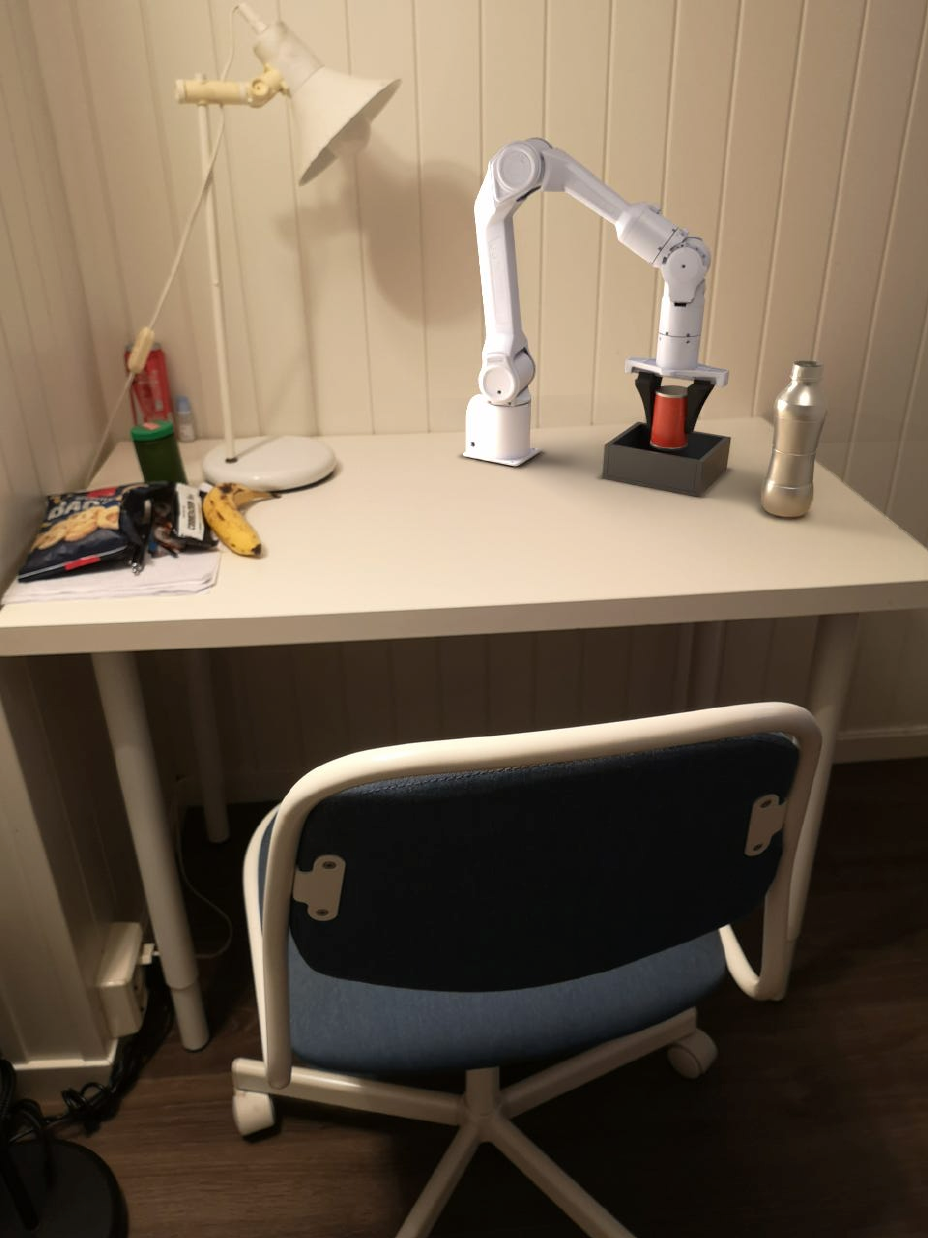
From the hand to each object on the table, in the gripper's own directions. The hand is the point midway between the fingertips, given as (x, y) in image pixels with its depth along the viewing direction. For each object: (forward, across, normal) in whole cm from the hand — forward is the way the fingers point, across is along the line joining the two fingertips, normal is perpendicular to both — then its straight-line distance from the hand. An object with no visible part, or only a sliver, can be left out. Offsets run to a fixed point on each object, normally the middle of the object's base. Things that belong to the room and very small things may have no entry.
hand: (669, 428), depth 141 cm
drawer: (+7, 0, 0) cm, 7 cm away
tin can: (+2, 0, 0) cm, 2 cm away
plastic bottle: (+7, +19, -6) cm, 21 cm away
